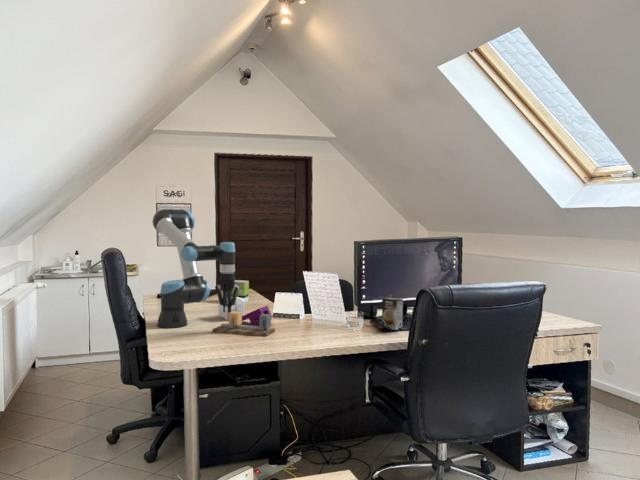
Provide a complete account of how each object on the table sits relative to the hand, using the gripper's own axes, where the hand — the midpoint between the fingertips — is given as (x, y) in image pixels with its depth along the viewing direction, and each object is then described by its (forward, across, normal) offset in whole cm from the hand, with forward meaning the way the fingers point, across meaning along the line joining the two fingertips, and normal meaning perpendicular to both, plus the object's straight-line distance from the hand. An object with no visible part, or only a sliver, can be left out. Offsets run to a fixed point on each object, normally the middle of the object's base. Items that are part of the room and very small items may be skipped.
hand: (227, 319), depth 246 cm
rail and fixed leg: (+4, +10, 0) cm, 11 cm away
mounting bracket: (+6, +5, +18) cm, 20 cm away
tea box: (+5, -35, +82) cm, 89 cm away
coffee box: (+6, +79, +31) cm, 85 cm away
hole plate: (+6, +10, -1) cm, 11 cm away
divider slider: (+4, +4, 0) cm, 6 cm away
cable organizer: (+6, -13, +30) cm, 33 cm away
